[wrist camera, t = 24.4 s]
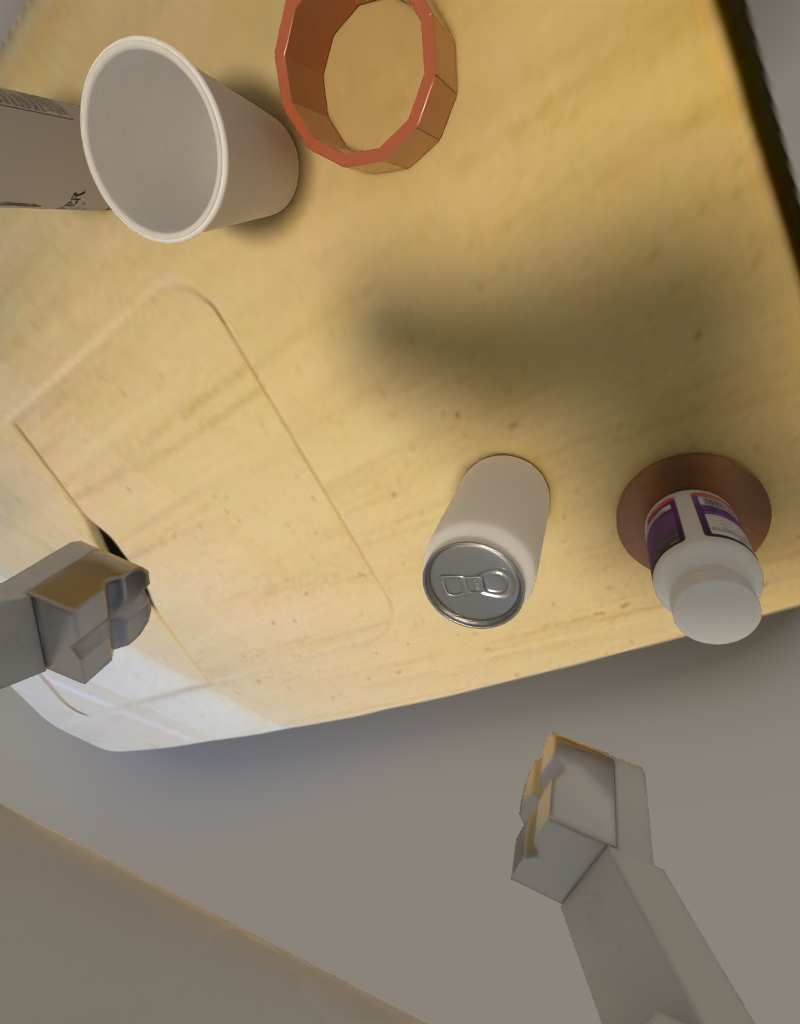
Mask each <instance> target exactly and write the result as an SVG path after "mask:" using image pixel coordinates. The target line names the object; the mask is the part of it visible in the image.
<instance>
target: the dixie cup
mask: <svg viewBox="0 0 800 1024" xmlns="http://www.w3.org/2000/svg"><path fill="white" fill-rule="evenodd" d="M80 126H81V136H82V142H83V148H84V152H85V156H86V160H87V163H88V166H89V169H90V171H91V174H92V176H93V179H94V181H95V183H96V185H97V187H98V189H99V191H100V193H101V194H102V196H103V198H104V199H105V201H106V202H107V204H108V205H109V206H110V208H111V209H112V210H113V212H114V213H115V214H116V215H117V216H118V217H119V218H120V219H121V220H122V221H123V222H124V223H125V224H126V225H127V226H128V227H130V228H131V229H132V230H134V231H135V232H137V233H138V234H140V235H142V236H144V237H146V238H148V239H150V240H153V241H157V242H161V243H180V242H184V241H188V240H190V239H192V238H194V237H196V236H198V235H199V234H200V233H202V232H206V231H210V230H214V229H218V228H222V227H226V226H230V225H234V224H238V223H243V222H247V221H251V220H255V219H259V218H263V217H267V216H271V215H274V214H277V213H279V212H280V211H282V210H283V209H284V208H285V207H286V206H287V205H288V204H289V202H290V201H291V199H292V198H293V196H294V193H295V191H296V188H297V184H298V178H299V159H298V154H297V150H296V147H295V144H294V142H293V139H292V137H291V136H290V134H289V132H288V131H287V129H286V128H285V127H284V126H283V125H282V124H281V123H280V122H279V121H278V120H277V119H276V118H274V117H273V116H271V115H270V114H268V113H266V112H265V111H263V110H262V109H260V108H259V107H258V106H256V105H254V104H253V103H251V102H249V101H248V100H246V99H245V98H243V97H241V96H240V95H238V94H237V93H235V92H234V91H232V90H231V89H229V88H227V87H226V86H224V85H223V84H221V83H220V82H218V81H216V80H215V79H213V78H212V77H210V76H209V75H207V74H206V73H204V72H202V71H201V70H199V69H198V68H196V67H195V66H194V65H193V64H192V63H191V62H190V60H189V59H187V58H186V57H185V56H184V55H183V54H182V53H181V52H179V51H178V50H177V49H175V48H174V47H172V46H171V45H169V44H167V43H165V42H163V41H161V40H159V39H156V38H152V37H148V36H129V37H125V38H122V39H119V40H117V41H115V42H114V43H112V44H110V45H109V46H108V47H107V48H105V49H104V50H103V51H102V52H101V53H100V55H99V56H98V57H97V59H96V60H95V61H94V63H93V65H92V67H91V69H90V71H89V73H88V75H87V78H86V81H85V84H84V88H83V93H82V99H81V108H80Z"/></svg>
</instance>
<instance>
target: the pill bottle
mask: <svg viewBox="0 0 800 1024" xmlns="http://www.w3.org/2000/svg"><path fill="white" fill-rule="evenodd" d="M645 538H646V544H647V549H648V556H649V562H650V568H651V574H652V581H653V585H654V589H655V592H656V595H657V597H658V599H659V600H660V602H661V603H662V604H663V605H664V606H665V607H666V608H667V609H668V610H669V611H670V612H672V615H673V619H674V621H675V624H676V625H677V627H678V628H679V629H680V630H681V631H682V632H683V633H684V634H685V635H687V636H688V637H690V638H692V639H694V640H696V641H699V642H703V643H708V644H725V643H732V642H735V641H737V640H740V639H742V638H744V637H746V636H747V635H749V634H750V633H751V632H753V630H754V629H755V628H756V627H757V625H758V624H759V621H760V619H761V612H762V611H761V605H760V602H759V597H760V595H761V593H762V590H763V585H764V576H763V571H762V568H761V566H760V563H759V561H758V559H757V557H756V555H755V553H754V551H753V549H752V547H751V545H750V543H749V541H748V539H747V536H746V534H745V532H744V530H743V528H742V526H741V524H740V522H739V520H738V518H737V516H736V514H735V513H734V511H733V509H732V508H731V507H730V505H729V504H728V503H727V502H726V501H725V500H723V499H722V498H721V497H719V496H717V495H715V494H713V493H711V492H707V491H702V490H684V491H679V492H675V493H672V494H670V495H668V496H666V497H664V498H663V499H661V500H660V501H659V502H657V503H656V504H655V505H654V506H653V507H652V509H651V510H650V512H649V514H648V516H647V518H646V522H645Z"/></svg>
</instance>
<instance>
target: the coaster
mask: <svg viewBox="0 0 800 1024" xmlns="http://www.w3.org/2000/svg"><path fill="white" fill-rule="evenodd" d="M684 490H702V491H707V492H711V493H713V494H715V495H717V496H719V497H721V498H722V499H723V500H725V501H726V502H727V503H728V504H729V505H730V507H731V508H732V509H733V511H734V513H735V514H736V516H737V518H738V520H739V522H740V524H741V526H742V528H743V530H744V532H745V534H746V536H747V539H748V541H749V543H750V545H751V547H752V549H753V551H754V552H755V551H756V550H757V549H758V548H759V547H760V545H761V544H762V542H763V541H764V539H765V537H766V535H767V533H768V530H769V527H770V523H771V504H770V500H769V497H768V495H767V492H766V490H765V489H764V487H763V486H762V484H761V482H760V481H759V480H758V479H757V477H756V476H755V475H754V474H753V473H752V472H750V471H749V470H748V469H747V468H745V467H744V466H742V465H741V464H739V463H737V462H735V461H733V460H730V459H728V458H724V457H721V456H717V455H711V454H700V453H699V454H684V455H678V456H674V457H670V458H667V459H664V460H662V461H659V462H657V463H655V464H653V465H651V466H649V467H648V468H646V469H645V470H643V471H642V472H641V473H640V474H638V475H637V476H636V477H635V478H634V479H633V480H632V481H631V482H630V483H629V485H628V486H627V488H626V489H625V490H624V492H623V494H622V496H621V498H620V501H619V504H618V508H617V529H618V534H619V537H620V539H621V541H622V544H623V546H624V547H625V548H626V550H627V551H628V553H629V554H630V555H631V556H632V557H633V558H634V559H635V560H637V561H638V562H639V563H640V564H642V565H643V566H645V567H647V568H648V569H650V570H651V568H650V562H649V556H648V549H647V544H646V538H645V522H646V518H647V516H648V514H649V512H650V510H651V509H652V507H653V506H654V505H655V504H656V503H657V502H659V501H660V500H661V499H663V498H664V497H666V496H668V495H670V494H672V493H675V492H679V491H684Z"/></svg>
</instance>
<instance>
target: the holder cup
mask: <svg viewBox="0 0 800 1024" xmlns="http://www.w3.org/2000/svg"><path fill="white" fill-rule="evenodd" d="M371 1H374V0H286V3H285V7H284V12H283V17H282V21H281V26H280V30H279V35H278V40H277V44H276V49H275V54H276V55H275V61H276V68H277V74H278V80H279V86H280V93H281V99H282V105H283V107H284V111H285V112H286V114H287V115H288V117H289V119H290V120H291V122H292V123H293V125H294V127H295V128H296V130H297V131H298V133H299V134H300V136H301V138H302V139H303V141H304V142H305V144H306V146H307V147H308V148H309V149H310V150H312V151H314V152H316V153H317V154H319V155H321V156H323V157H325V158H327V159H329V160H331V161H333V162H335V163H336V164H338V165H340V166H342V167H345V168H350V169H354V170H358V171H363V172H367V173H371V174H379V173H385V172H391V171H397V170H404V169H408V168H410V167H411V166H412V165H413V164H415V163H416V162H417V161H418V160H419V159H420V158H421V157H422V156H423V155H424V154H425V153H426V152H427V151H429V150H430V149H431V148H432V147H433V146H434V145H435V144H436V143H437V142H438V141H439V139H440V138H441V135H442V132H443V130H444V127H445V125H446V122H447V119H448V117H449V114H450V111H451V109H452V106H453V104H454V101H455V98H456V94H457V78H456V55H455V42H454V39H453V37H452V35H451V33H450V32H449V30H448V28H447V26H446V24H445V22H444V21H443V19H442V17H441V15H440V13H439V11H438V9H437V8H436V6H435V4H434V2H433V0H402V1H404V2H406V3H408V4H410V5H412V6H413V8H414V10H415V11H416V13H417V15H418V17H419V19H420V20H421V25H422V41H423V57H424V73H425V74H424V77H423V80H422V83H421V86H420V89H419V92H418V95H417V97H416V100H415V103H414V106H413V109H412V112H411V115H410V118H409V120H408V121H407V122H406V123H405V124H404V125H403V126H402V127H401V128H400V129H399V130H398V131H397V132H396V133H394V134H393V135H392V136H391V137H390V138H389V139H388V140H387V141H386V142H385V143H384V144H383V145H382V146H381V147H380V148H377V149H372V150H366V151H360V152H354V151H352V150H350V149H348V148H347V147H346V146H345V144H344V142H343V141H342V139H341V137H340V136H339V134H338V132H337V131H336V129H335V128H334V126H333V124H332V123H331V121H330V119H329V118H328V114H327V106H326V98H325V90H324V83H323V73H324V69H325V66H326V62H327V58H328V54H329V50H330V46H331V43H332V39H333V35H334V34H335V32H336V31H337V30H338V29H339V28H340V27H341V25H342V24H343V23H344V22H345V21H346V19H347V18H348V17H349V16H350V15H351V13H352V12H353V11H354V10H355V9H356V8H357V6H358V5H360V4H363V3H367V2H371Z"/></svg>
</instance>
